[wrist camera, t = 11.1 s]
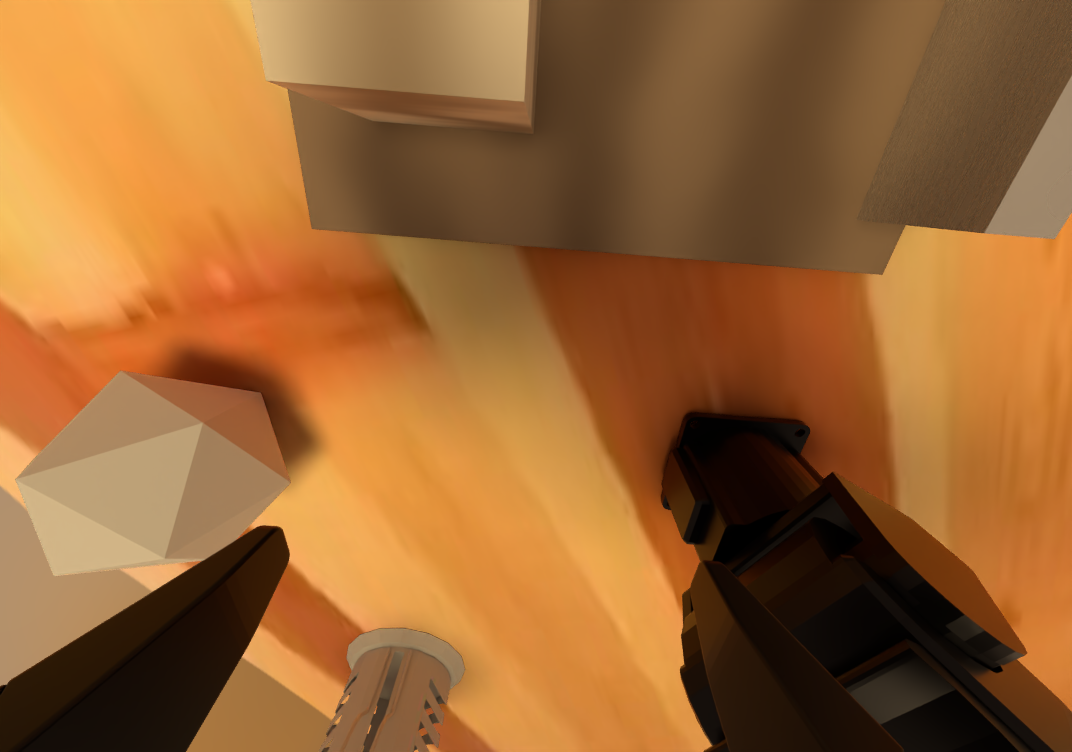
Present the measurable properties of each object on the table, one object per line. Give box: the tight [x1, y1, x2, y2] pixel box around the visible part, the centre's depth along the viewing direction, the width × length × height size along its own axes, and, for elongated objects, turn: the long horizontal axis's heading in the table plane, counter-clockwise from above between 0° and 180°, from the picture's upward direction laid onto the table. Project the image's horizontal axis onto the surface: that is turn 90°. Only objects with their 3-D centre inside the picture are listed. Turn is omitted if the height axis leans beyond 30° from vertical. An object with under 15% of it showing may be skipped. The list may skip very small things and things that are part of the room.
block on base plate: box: [288, 0, 1072, 275], centre depth 11 cm, size 24×14×6 cm, turn 86°
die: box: [15, 371, 291, 576], centre depth 18 cm, size 8×9×10 cm
